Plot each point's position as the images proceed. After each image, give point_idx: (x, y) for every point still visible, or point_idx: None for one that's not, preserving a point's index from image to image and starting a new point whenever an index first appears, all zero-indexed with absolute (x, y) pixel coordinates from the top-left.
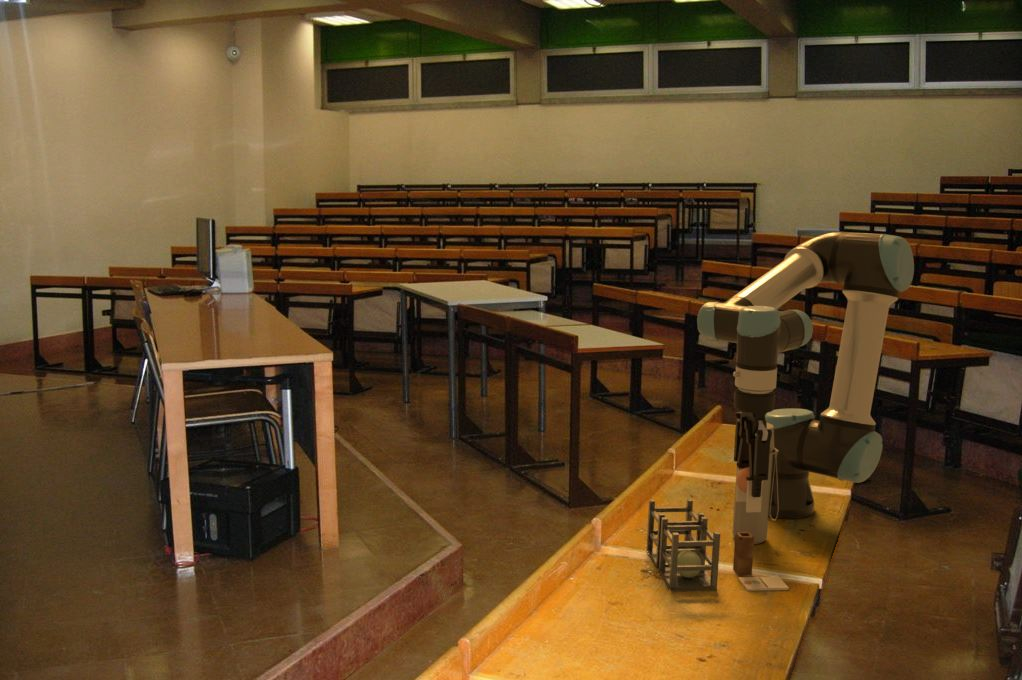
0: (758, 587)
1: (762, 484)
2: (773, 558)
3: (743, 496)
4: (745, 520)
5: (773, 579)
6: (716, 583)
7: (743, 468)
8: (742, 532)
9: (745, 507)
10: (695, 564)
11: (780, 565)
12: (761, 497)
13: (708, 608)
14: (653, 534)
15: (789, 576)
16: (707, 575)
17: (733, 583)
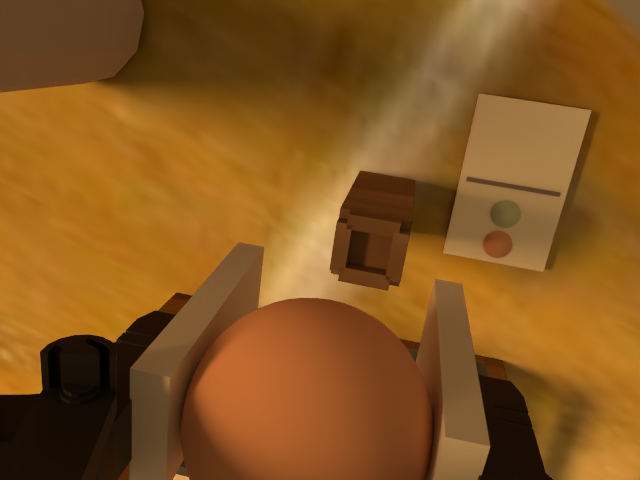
0: (547, 226)
1: (388, 333)
2: (285, 5)
3: (248, 310)
4: (75, 64)
5: (498, 130)
6: (504, 375)
7: (130, 440)
8: (341, 250)
9: (29, 70)
10: None
11: (358, 13)
12: (470, 338)
13: (620, 447)
14: (179, 469)
15: (470, 33)
16: (415, 356)
17: (468, 282)
